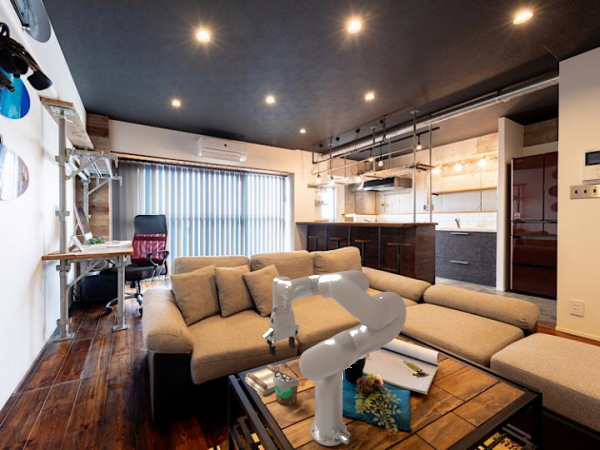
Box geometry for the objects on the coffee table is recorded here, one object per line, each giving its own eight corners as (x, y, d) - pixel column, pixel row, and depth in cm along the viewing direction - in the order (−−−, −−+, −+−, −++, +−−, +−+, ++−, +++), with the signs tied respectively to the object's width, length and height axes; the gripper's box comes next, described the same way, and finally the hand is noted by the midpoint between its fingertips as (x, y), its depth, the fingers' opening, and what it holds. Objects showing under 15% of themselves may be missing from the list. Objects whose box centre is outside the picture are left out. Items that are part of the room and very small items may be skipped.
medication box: (397, 366, 138) (396, 358, 138) (401, 364, 139) (400, 356, 139) (415, 378, 127) (415, 369, 127) (420, 376, 128) (419, 367, 128)
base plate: (289, 383, 123) (289, 375, 123) (262, 396, 114) (262, 387, 114) (270, 370, 134) (270, 363, 134) (245, 381, 124) (245, 373, 124)
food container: (266, 398, 112) (266, 373, 112) (277, 391, 117) (277, 368, 117) (287, 412, 104) (287, 386, 104) (299, 404, 109) (299, 379, 108)
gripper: (269, 315, 102) (270, 362, 102) (304, 306, 113) (304, 347, 113) (258, 310, 107) (258, 354, 107) (292, 302, 119) (292, 342, 119)
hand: (282, 351), depth 110 cm, fingers open, 9 cm apart
